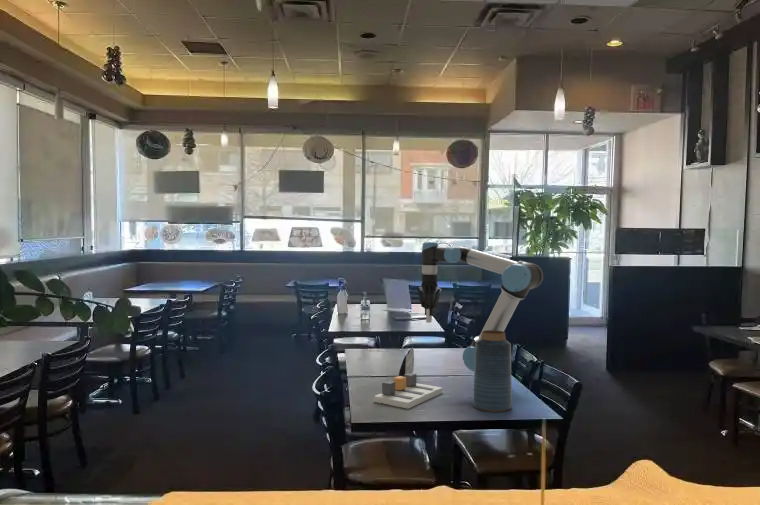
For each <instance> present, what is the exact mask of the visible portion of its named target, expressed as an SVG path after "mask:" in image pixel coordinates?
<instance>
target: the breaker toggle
mask: <svg viewBox="0 0 760 505" xmlns="http://www.w3.org/2000/svg"><path fill="white" fill-rule="evenodd" d="M392 379H393V380H392V381H393V382H395V389H396V390H403V389H405V388H406V377H403V376H399V375H397V376H395V377H393V378H392Z"/></svg>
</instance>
